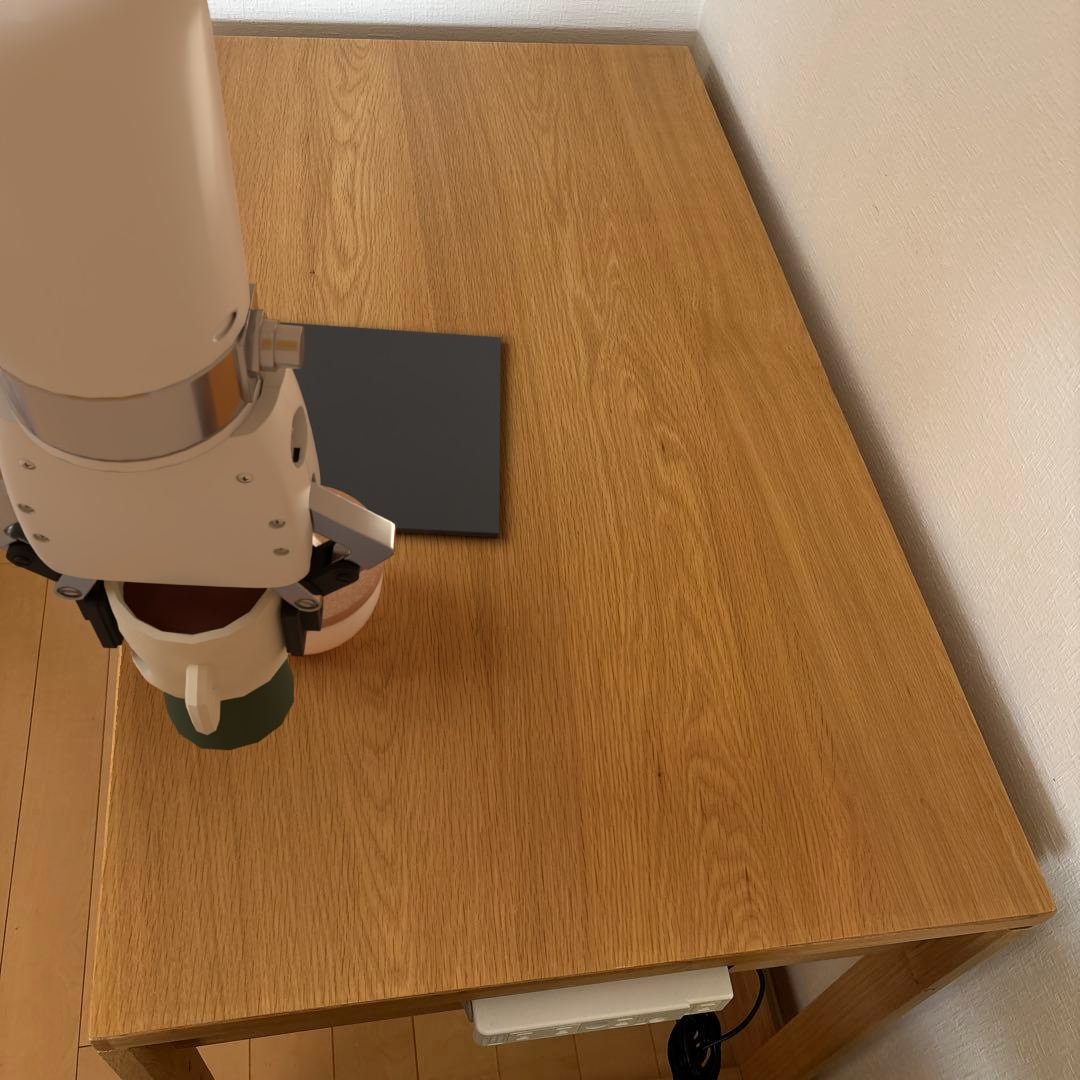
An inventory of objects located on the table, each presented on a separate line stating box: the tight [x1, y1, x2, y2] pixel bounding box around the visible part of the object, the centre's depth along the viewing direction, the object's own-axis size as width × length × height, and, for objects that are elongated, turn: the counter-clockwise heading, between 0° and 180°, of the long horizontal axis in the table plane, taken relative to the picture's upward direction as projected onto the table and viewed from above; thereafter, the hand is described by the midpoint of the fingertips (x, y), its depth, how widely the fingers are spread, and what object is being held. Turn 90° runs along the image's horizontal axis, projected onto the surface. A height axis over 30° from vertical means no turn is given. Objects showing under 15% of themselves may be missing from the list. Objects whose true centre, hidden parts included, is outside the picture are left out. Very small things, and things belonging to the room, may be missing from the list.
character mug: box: [104, 580, 295, 751], centre depth 47 cm, size 11×7×13 cm, turn 8°
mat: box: [279, 321, 502, 538], centre depth 80 cm, size 22×20×1 cm
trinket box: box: [288, 485, 386, 656], centre depth 67 cm, size 11×11×9 cm
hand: (210, 621), depth 46 cm, fingers closed on character mug, 7 cm apart
